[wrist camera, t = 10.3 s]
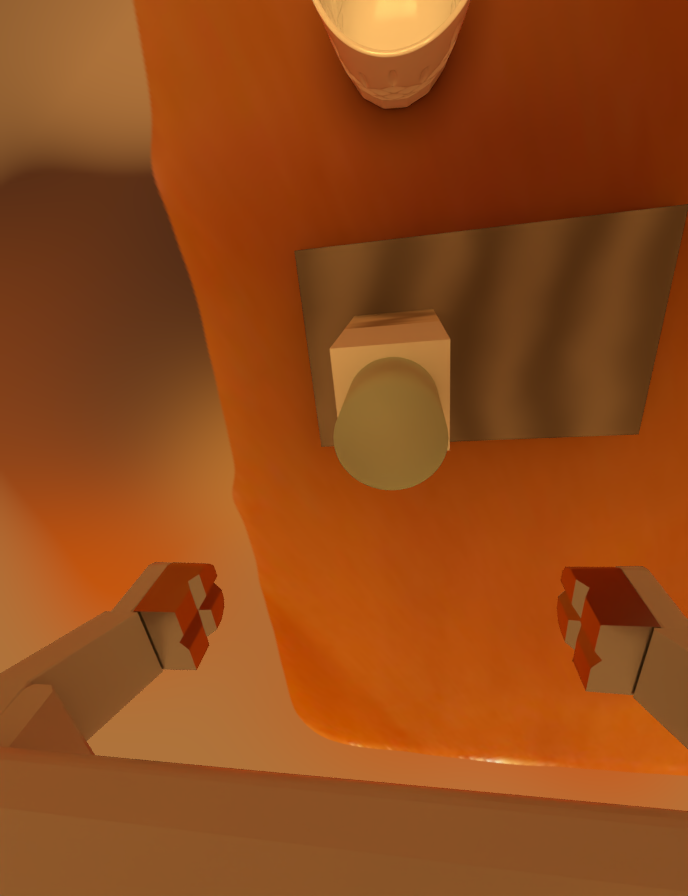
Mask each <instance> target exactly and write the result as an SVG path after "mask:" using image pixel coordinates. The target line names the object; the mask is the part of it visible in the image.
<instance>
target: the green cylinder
mask: <svg viewBox="0 0 688 896" xmlns="http://www.w3.org/2000/svg"><path fill="white" fill-rule="evenodd" d="M333 439H334V447H335V451H336V454H337V457H338V459H339V461H340V463H341V464H342V466H343V467H344V468H345V469H346V471H347V472H348V473H349V474H350V475H351V476H353V477H354V478H355V479H357V480H358V481H360V482H362V483H363V484H365V485H368V486H370V487H373V488H377V489H383V490H401V489H406V488H409V487H413V486H415V485H417V484H420V483H421V482H423V481H425V480H426V479H428V478H429V477H430V476H431V475H432V474H433V473H434V472H435V471H436V470H437V469H438V468H439V466H440V465H441V463H442V461H443V460H444V458H445V455H446V452H447V448H448V440H449V437H448V429H447V424H446V420H445V417H444V413H443V409H442V405H441V401H440V397H439V394H438V390H437V387H436V384H435V382H434V380H433V378H432V377H431V375H430V374H429V373H428V372H427V371H426V370H425V369H424V368H423V367H422V366H421V365H419V364H417V363H416V362H414V361H411V360H409V359H405V358H400V357H386V358H381V359H378V360H375V361H373V362H371V363H369V364H368V365H366V366H365V367H364V368H362V369H361V370H360V371H359V372H358V373H357V375H356V376H355V377H354V379H353V381H352V383H351V385H350V388H349V390H348V393H347V395H346V398H345V400H344V403H343V405H342V408H341V411H340V413H339V416H338V418H337V421H336V423H335V428H334V435H333Z"/></svg>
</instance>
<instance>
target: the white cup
mask: <svg viewBox="0 0 688 896" xmlns="http://www.w3.org/2000/svg"><path fill="white" fill-rule="evenodd" d="M312 1H313V3H314V5H315V7H316V9H317V12H318V14H319V16H320V18H321V20H322V23H323V25H324V27H325V29H326V32H327V34H328V36H329V39H330V41H331V43H332V46H333V48H334V50H335V52H336V53H337V55H338V57H339V59H340V61H341V64H342V65H343V67H344V69H345V71H346V73H347V74H348V76H349V78H350V79H351V81H352V82H353V84H354V85H355V87H356V88H357V90H358V91H359V93H360V94H361V96H362V97H363V98H364V99H366V100H368V101H370V102H372V103H373V104H375V105H377V106H379V107H381V108H383V109H390V108H403V107H408V106H409V105H411V104H412V103H414V102H415V101H417V100H418V99H420V98H421V97H423V96H424V95H426V94H427V93H429V91H430V90H431V88H432V87H433V85H434V83H435V82H436V80H437V79H438V77H439V76H440V74H441V73H442V71H443V70H444V68H445V66H446V63H447V60H448V57H449V55H450V53H451V51H452V49H453V47H454V45H455V42H456V39H457V37H458V35H459V32H460V30H461V27H462V25H463V22H464V19H465V16H466V13H467V11H468V8H469V5H470V2H471V0H312Z"/></svg>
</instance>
